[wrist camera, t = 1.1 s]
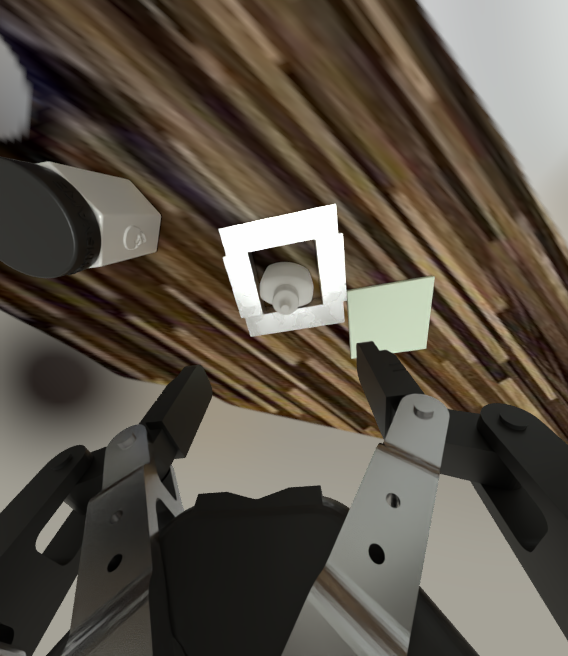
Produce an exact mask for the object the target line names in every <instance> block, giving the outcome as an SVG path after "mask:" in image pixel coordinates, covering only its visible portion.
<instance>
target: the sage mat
mask: <svg viewBox="0 0 568 656" xmlns="http://www.w3.org/2000/svg"><path fill="white" fill-rule="evenodd" d="M434 278H435V277H434V276H427V277H421V278H415V279H409V280H403V281H397V282H391V283H386V284H380V285H374V286H368V287H362V288H356V289H351V290H346V292H347V308H348V323H349V339H350V354H351V358H357V356H356V344H357V343H361V342H368V341H373V342H374V343H375V345H376V346H377V348H378V349H379V350H388V351H389V352H391V353H397V352H404V351H411V350H419V349H426V344H427V336H428V328H429V319H430V311H431V303H432V294H433V286H434Z"/></svg>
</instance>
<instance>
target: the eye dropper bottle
mask: <svg viewBox="0 0 568 656" xmlns="http://www.w3.org/2000/svg"><path fill="white" fill-rule="evenodd" d="M313 288H314V287H313V282H312V279H311V275H310V272H309V270H308V269H307V268H305V267H304V266H302V265H299V264H296V263H292V262H278V263H274V264H271V265H269V266H268V267H267V268H266V270H265V272H264V275H263V277H262V279H261V282H260V297H261V298H262V299H263V300H264V301H266V302H268V303H270V304H272V305H273V307H274V309H275V311H276V312H278V313H279V314H282V315H289V314H292V313H294V312H295V311H296V310H297V308H298V307H300V306H303V305H306V304H308V303H310V302H311V300H312V296H313Z"/></svg>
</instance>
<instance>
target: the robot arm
mask: <svg viewBox="0 0 568 656" xmlns="http://www.w3.org/2000/svg"><path fill="white" fill-rule="evenodd" d="M356 356H357V372H358V377H359V380H360V383H361V385H362V388H363V390H364V393H365V395H366V397H367V400H368V402H369V405H370V407H371V410H372V412H373V414H374V417H375V419H376V422H377V424H378V427H379V429H380V431H381V434H382V436H383V439H384V442H383V444H382V443H379V444H378V446H377V447H376V450H375V452H374V454H373V456H372V459H371V461H370V463H369V466H368V468H367V470H366V473H365V475H364V477H363V480H362V482H361V484H360V487H359V489H358V492H357V494H356V496H355V498H354V500H353V503H352V505H351V507H350V509H349V508H348V507H347V506H345V505H344V504H342V503H340V502H338V501H336V500H333V499H331V498H328V497H324V496H322V491H321V486H305V487H291V488H287V489H284V490H281V491H279V492H276V493H273V494H271V495H268V496H265V497H262V498H260V499H252V498H247V497H244V496H240V495H237V494H233V493H229V492H221V493H220V492H219V493H207V494H206V493H205V494H198V497H197V500H196V503H195V506H193V507H191V508H189V509H187V510H185V511H184V509H183V506H182V502H181V498H180V493H179V489H178V485H177V481H176V476H175V472H174V468H173V466H172V465H171V464H172V462H173V460H174V459H179V458H185V457H186V455H187V453H188V451H189V448H190V446H191V444H192V442H193V439H194V437H195V435H196V432H197V430H198V428H199V425H200V423H201V421H202V419H203V416H204V414H205V412H206V409H207V407H208V405H209V403H210V400H211V398H212V387H211V385H210V382H209V380H208V378H207V375H206V373H205V371H204V369H203V367H202V366H201V365H193V366H186V367H184V368H183V370H182V371H181V373H180V374H179V375H178V377H176V378H175V379H174V380H173V381H171V382H170V383H169V384H168V385H167V386H166V388H165V389H164V390H163V392H162V394H161V395H160V396H159V397H158V398H157V401H155V403H154V404H153V405H152V407H151V408H150V410H149V411H148V412H147V414H146V415H145V416H144V418H143V419H142V420H141V422H140V423H139V424H138V425H133V426H130V427H128V428H126V429H124V430H123V431H121V432H120V433H119V434H117V435H116V436H115V437H114V438H113V439H112V440H111V441H110V443H109V444H108V446H107V447H104V448H101V449H99V450H96V451H93V452H89V451H88V450H87V448H86V447H85V446H83V445H77V446H73V447H70V448H68V449H66V450H64V451H63V452H61V453H59V454H58V455H57V456H55V457H54V458H53V459H51V460H50V461H49V462H48V463H47V464H46V465H45V466H44V467H43V468H42V469H41V470H40V471H39V473H38V474H37V475H36V476H35V477H34V478H33V479H32V480H31V481H30V482H29V484H27V485H26V486H25V488H24V489H23V490H22V491H21V492H20V493H19V494H18V495H17V496H16V497H15V498H14V499H13V500H12V501H11V502H10V503H9V504H8V506H7V507H6V508H5V509H4V510H3V511H2V512H1V513H0V656H32V655H33V653H34V651H35V649H36V647H37V646H38V644H39V642H40V640H41V638H42V637H43V635H44V633H45V631H46V630H47V628H48V626H49V624H50V622H51V620H52V619H53V617H54V615H55V613H56V612H57V610H58V608H59V606H60V605H61V603H62V601H63V599H64V597H65V596H66V594H67V592H68V590H69V589H70V587H71V585H72V583H73V581H74V580H75V578H76V576H77V574H78V577H77V585H76V592H75V599H74V606H73V613H72V620H71V627H70V630H69V631H68V632H67V633H66V634H65V635H64V637H63V638H62V639H61V640H60V641H59V642H58V643H57V644H56V645H55V646H54V647H53V649H52V650H51V651H50V652H49V653H48V654H47V655H46V656H479V655H478V654H477V652H476V651H475V650H474V649H473V648H472V646H471V645H470V644H469V643H468V642H467V641H466V640H465V638H464V637H463V636H462V635H461V634H460V632H459V631H458V630H457V629H456V628H455V627H454V626H453V624H452V623H451V622H450V621H449V620H448V619H447V617H446V616H445V615H444V614H443V613H442V611H441V610H440V609H439V608H438V607H437V606H436V604H435V603H434V602H433V601H432V600H431V599H430V597H429V596H428V595H427V594H426V593H425V592H424V590H423V589H422V588H421V587H420V586H419V585H420V580H421V574H422V569H423V563H424V558H425V552H426V547H427V541H428V536H429V530H430V525H431V518H432V513H433V508H434V503H435V497H436V492H437V486H438V480H439V474H444V475H448V476H452V477H456V478H460V479H464V480H469V481H471V483H472V484H473V486H474V488H475V490H476V491H477V493H478V495H479V496H480V498H481V499H482V501H483V503H484V504H485V506H486V508H487V509H488V511H489V513H490V514H491V516H492V518H493V519H494V521H495V522H496V524H497V526H498V527H499V529H500V530H501V532H502V534H503V535H504V537H505V539H506V540H507V542H508V544H509V545H510V547H511V549H512V550H513V552H514V553H515V555H516V557H517V558H518V560H519V562H520V563H521V565H522V567H523V568H524V570H525V571H526V573H527V575H528V576H529V578H530V580H531V581H532V583H533V585H534V586H535V588H536V589H537V591H538V593H539V594H540V596H541V598H542V599H543V601H544V603H545V604H546V605H547V607H548V609H549V611H550V612H551V614H552V616H553V617H554V619H555V620H556V622H557V624H558V625H559V627H560V629H561V630H562V632H563V634H564V635H565V637H566V638H567V640H568V445H567V444H566V443H565V442H564V441H563V440H562V439H561V438H559V437H558V436H557V435H556V434H555V433H554V432H553V431H552V430H550V429H549V428H548V427H547V426H546V425H545V424H544V423H543V422H541V421H540V420H539V419H538V418H537V417H535V416H534V415H532V414H530V413H529V412H527V411H525V410H522V409H520V408H517V407H515V406H511V405H507V404H500V403H494V404H488V405H486V406H484V407H483V408H482V410H481V412H480V414H476V413H469V412H462V411H455V410H450V409H447V408H446V407H445V405H444V404H443V403H441V402H440V401H439V400H437V399H435V398H433V397H431V396H428V395H425V394H424V393H423V391H422V390H421V389H420V387H419V386H418V385H417V383H416V382H415V381H414V379H413V378H412V377H411V375H410V374H409V372H408V371H406V368H405V367H404V366H403V364H401V362H400V360H399V359H398V358H397V356H396V355H394V354H393V353H391V352H389V351H388V350H379V349H378V348H377V346H376V345H375V343H374V342H373V341H368V342H361V343H357V344H356ZM63 501H64V502H65V503H66V504H68V505H69V506H70V507H71V508H72V509H73V511H72V512H71V513H70V515H69V516H68V518H67V519H66V521H65V522H64V523H63V525H62V526H61V528H60V529H59V531H58V532H57V533H56V535H55V536H54V538H53V539H52V541H51V542H50V543H49V545H48V546H47V548H46V549H45V551H44V552H43V553H42V554H41V553H39V552H38V551H37V550H36V547H35V544H36V540H37V537H38V535H39V533H40V532H41V530H42V529H43V528H44V526H45V525H46V524H47V522H48V521H49V520H50V518H51V517H52V516H53V514H54V513H55V512H56V510H57V509H58V508H59V506H60V505H61V504H62V503H63Z"/></svg>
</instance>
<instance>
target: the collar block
mask: <svg viewBox="0 0 568 656" xmlns="http://www.w3.org/2000/svg"><path fill="white" fill-rule="evenodd" d="M219 232H220V236H221V239H222V242H223V246H224V249H225V252H226V256H224V257H223V260H224V263H225V266H226V270H227V273H228V276H229V279H230V283H231V286H232V289H233V292H234V296H235V299H236V302H237V306H238V309H239V312H240V315H241V318H245V319H246V323H247V326H248V329H249V333H250V336H251V337H252V336H258V335H265V334H271V333H278V332H284V331H291V330H297V329H304V328H310V327H317V326H323V325H329V324H336V323H342V322H345V321H344V307H343V301H347V292H346V277H345V261H344V246H343V233H340V232H338V225H337V212H336V204H332V205H328V206H323V207H318V208H314V209H309V210H304V211H300V212H295V213H291V214H286V215H281V216H277V217H272V218H267V219H263V220H258V221H254V222H249V223H244V224H240V225H235V226H230V227H226V228H221V229H219ZM312 239H314V244H315V252H316V260H317V269H318V277H319V285H320V293H321V298H318V299H312V300H311V302H310V303H308V304H306V305H303V306H300V307H298V308H297V310H296V311H295V312H294V313H292V314H289V315H282V314H279V313H278V312H276V311H275V309H274V307H273V306H271V307H265V305H264V301H263V299H262V298H261V297H260V285H259V281H258V277H257V273H256V269H255V265H254V261H253V257H252V253H251V252H252V251H257V250H262V249H267V248H272V247H277V246H282V245H287V244H292V243H297V242H302V241H307V240H312Z"/></svg>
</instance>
